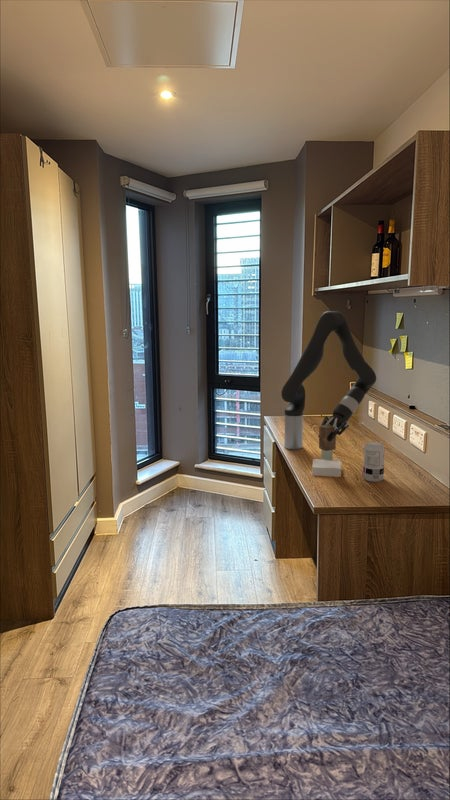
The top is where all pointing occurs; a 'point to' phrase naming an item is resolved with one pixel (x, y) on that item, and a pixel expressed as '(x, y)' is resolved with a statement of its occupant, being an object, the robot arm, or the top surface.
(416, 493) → the top surface
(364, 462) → the supplement can
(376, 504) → the top surface
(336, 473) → the base block
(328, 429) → the walnut block
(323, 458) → the sage green block
